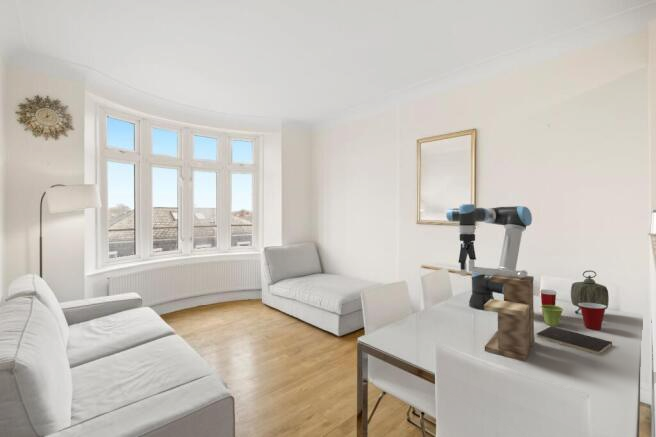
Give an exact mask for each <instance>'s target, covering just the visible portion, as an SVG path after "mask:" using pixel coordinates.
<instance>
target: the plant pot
mask: <svg viewBox="0 0 656 437" xmlns="http://www.w3.org/2000/svg"><path fill="white" fill-rule="evenodd" d="M540 308H541V311H542V310H543V313H542V315H543V314H544V315H543V318H544V320H543V321H544V323H545V325H550V327H551V326H553V327H558V326H560V323H561V317H562V313H563V311H564V308H562V307H561V306H558V305H557V306H556V305H555V306H553V305H542V304H541V306H540Z"/></svg>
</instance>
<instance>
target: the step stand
mask: <svg viewBox="0 0 656 437" xmlns="http://www.w3.org/2000/svg"><path fill="white" fill-rule="evenodd" d="M534 281H535V280H534V276H533V275H527V278H526V279H522V280H520V279H518V278H512V277H503V276H491V282H499V283H504V294H503V300H500V299H495V298H494V299H490V300H489V301H488V302H487V303H486V304H484V310H485V311H489V312H490V311H491V312H496V313H497V330H496V332H494V334H493V335H492V336H491V337H490V339H489V340H488V341H487V343H486V344H485V345H484V352H487V353H491V354H496V355H499V356H503V357H507V358H509V359H515V360H519V361H523V362H527V359H528V357H529V354H530V352H531V351H532V348H533V346H534V344H535V325H534V324H535V322H534V319H535V317H534V316H535V315H534V313H535V312H534V311H535V310H534ZM484 310H483V311H484Z"/></svg>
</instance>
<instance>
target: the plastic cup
mask: <svg viewBox="0 0 656 437" xmlns="http://www.w3.org/2000/svg"><path fill="white" fill-rule="evenodd" d="M578 305H579V306H580V308H581V309H580V311H581V315H582V319H583V323H584V327H585V328H586V329H588V330H591V331H600V330H601V328H602V324H603V320H604V316H605V311H606V309H605V308H606V307H607V306H605V305H601V304H595V303H579V304H578Z"/></svg>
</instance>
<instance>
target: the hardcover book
mask: <svg viewBox="0 0 656 437" xmlns="http://www.w3.org/2000/svg"><path fill="white" fill-rule="evenodd" d="M535 335H537V338H539V339H542V340H546V341H549V342H552V343H557V344H561V345H563V346H567V347H570V348H573V349H576V350H580V351H584V352H585V353H586V352H587V353H590V354H593V355H598V356H599V355H600V354H601V353H603V352H605V351H606V350H607V349H609V347H611V346H613V342H612V341H610V340H606V339H603V338H602V339H601V338H598V337H595V336H591V335H587V334H584V333H579V332H576V331H572V330H567V329H563V328H560V327H558V326H551V325H550V326H549V327H546V328H545V329H542V330H541V331H539V332H536V334H535Z"/></svg>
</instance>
